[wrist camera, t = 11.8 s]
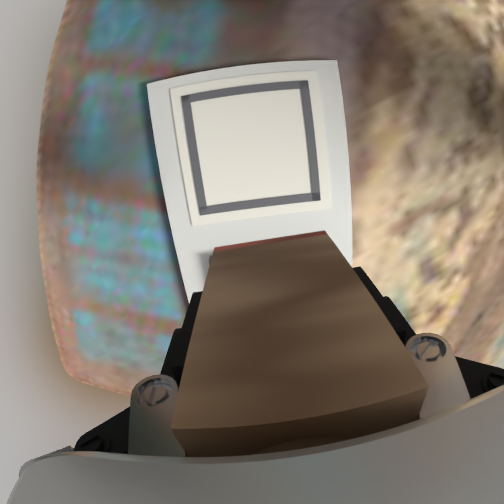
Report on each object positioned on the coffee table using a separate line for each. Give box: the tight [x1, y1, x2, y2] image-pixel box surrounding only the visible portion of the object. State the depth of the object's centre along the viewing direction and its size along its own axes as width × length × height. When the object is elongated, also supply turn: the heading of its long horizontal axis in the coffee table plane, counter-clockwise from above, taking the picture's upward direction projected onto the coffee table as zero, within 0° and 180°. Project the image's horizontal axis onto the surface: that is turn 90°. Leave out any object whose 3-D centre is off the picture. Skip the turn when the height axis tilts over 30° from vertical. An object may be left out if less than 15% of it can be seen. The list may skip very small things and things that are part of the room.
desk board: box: [147, 60, 352, 303], centre depth 26 cm, size 16×26×2 cm, turn 7°
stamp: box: [170, 230, 429, 457], centre depth 8 cm, size 4×4×10 cm
